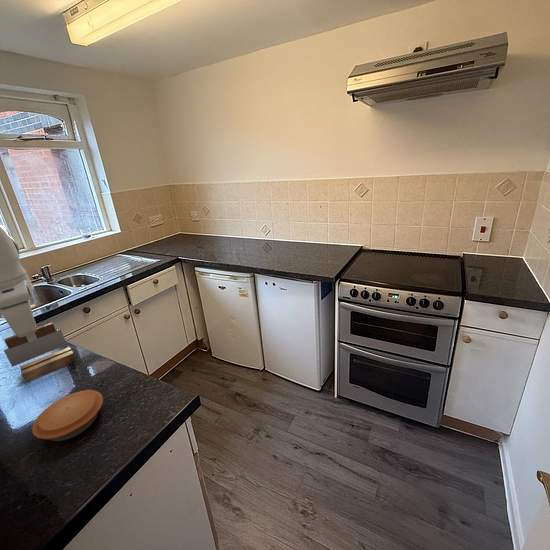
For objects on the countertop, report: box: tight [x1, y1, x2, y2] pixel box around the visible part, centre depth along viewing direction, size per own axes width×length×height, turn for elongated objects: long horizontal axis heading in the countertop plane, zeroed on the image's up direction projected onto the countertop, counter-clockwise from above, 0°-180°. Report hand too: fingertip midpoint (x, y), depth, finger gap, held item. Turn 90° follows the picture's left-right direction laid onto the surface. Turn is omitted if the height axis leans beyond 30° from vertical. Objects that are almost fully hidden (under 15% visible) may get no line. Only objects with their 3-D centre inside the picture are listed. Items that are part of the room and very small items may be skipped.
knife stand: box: [19, 346, 77, 383], centre depth 99 cm, size 14×6×4 cm, turn 132°
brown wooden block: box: [3, 321, 68, 368], centre depth 77 cm, size 12×2×7 cm, turn 133°
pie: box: [31, 389, 104, 442], centre depth 76 cm, size 15×16×5 cm
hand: (32, 338), depth 77 cm, fingers closed on brown wooden block, 2 cm apart
